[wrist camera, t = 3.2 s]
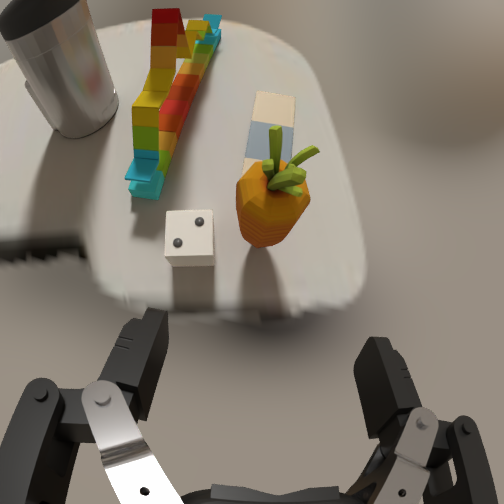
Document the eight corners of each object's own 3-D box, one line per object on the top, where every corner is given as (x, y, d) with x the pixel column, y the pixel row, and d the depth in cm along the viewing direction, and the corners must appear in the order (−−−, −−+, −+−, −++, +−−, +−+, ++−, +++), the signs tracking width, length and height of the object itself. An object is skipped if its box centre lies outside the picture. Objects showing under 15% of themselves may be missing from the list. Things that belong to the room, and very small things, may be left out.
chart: (201, 36, 38) (200, -41, 23) (220, 37, 38) (224, -40, 24) (131, 197, 29) (76, 101, 15) (158, 201, 29) (116, 100, 15)
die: (172, 266, 28) (164, 255, 24) (173, 227, 29) (166, 210, 25) (214, 266, 28) (212, 254, 24) (213, 225, 29) (212, 209, 25)
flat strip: (237, 203, 30) (237, 202, 29) (256, 91, 34) (256, 90, 34) (285, 211, 30) (286, 210, 30) (294, 98, 35) (295, 97, 34)
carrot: (238, 211, 30) (251, 106, 15) (286, 222, 30) (337, 128, 15) (226, 258, 28) (228, 179, 14) (277, 270, 28) (330, 203, 14)
